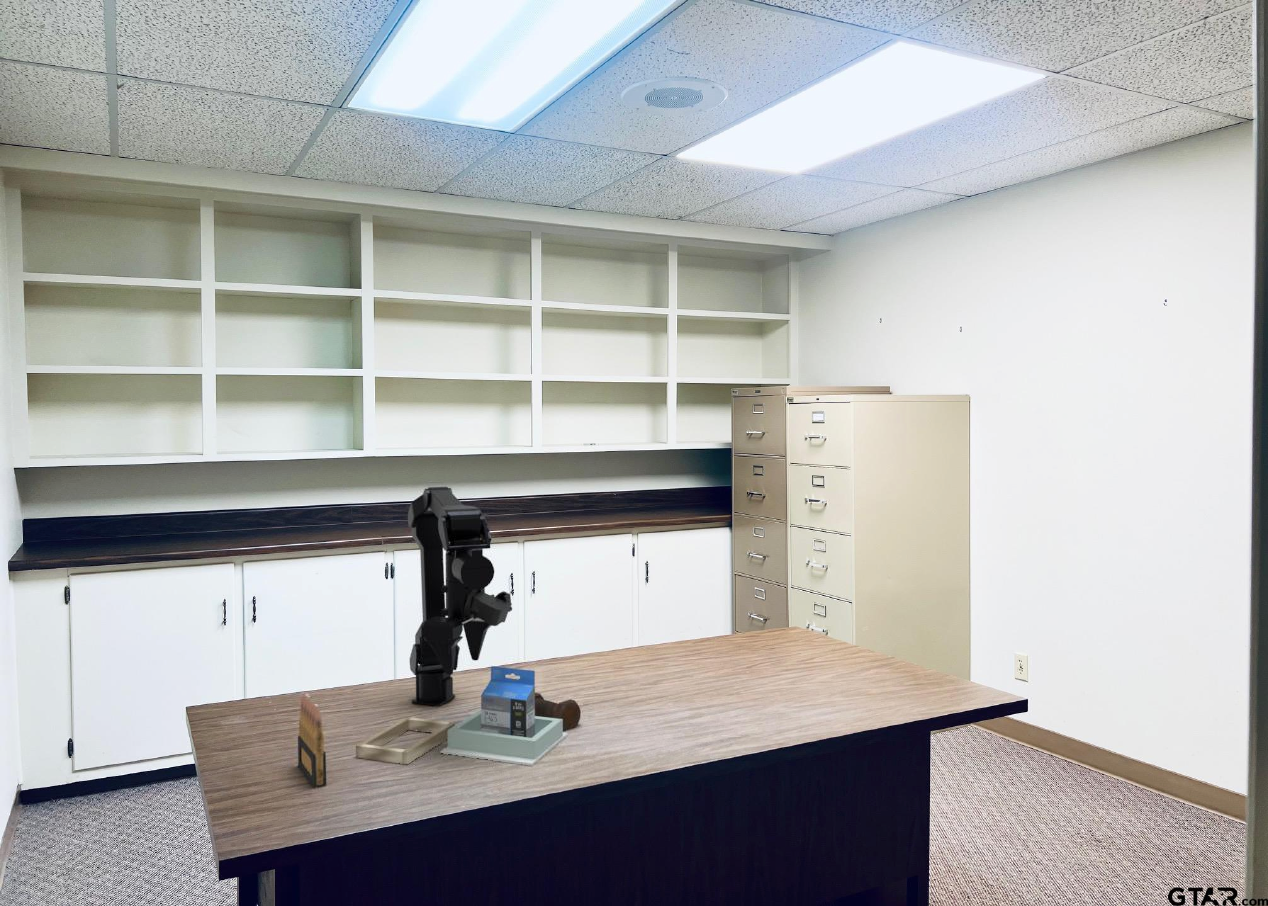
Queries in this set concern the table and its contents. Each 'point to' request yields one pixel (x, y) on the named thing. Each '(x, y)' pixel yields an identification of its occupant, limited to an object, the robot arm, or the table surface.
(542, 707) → the bolt
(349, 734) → the table surface
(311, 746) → the ammunition clip
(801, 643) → the table surface
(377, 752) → the beige open rectangular frame
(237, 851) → the table surface
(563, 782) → the table surface
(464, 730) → the slot plate
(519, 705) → the label tape cartridge
